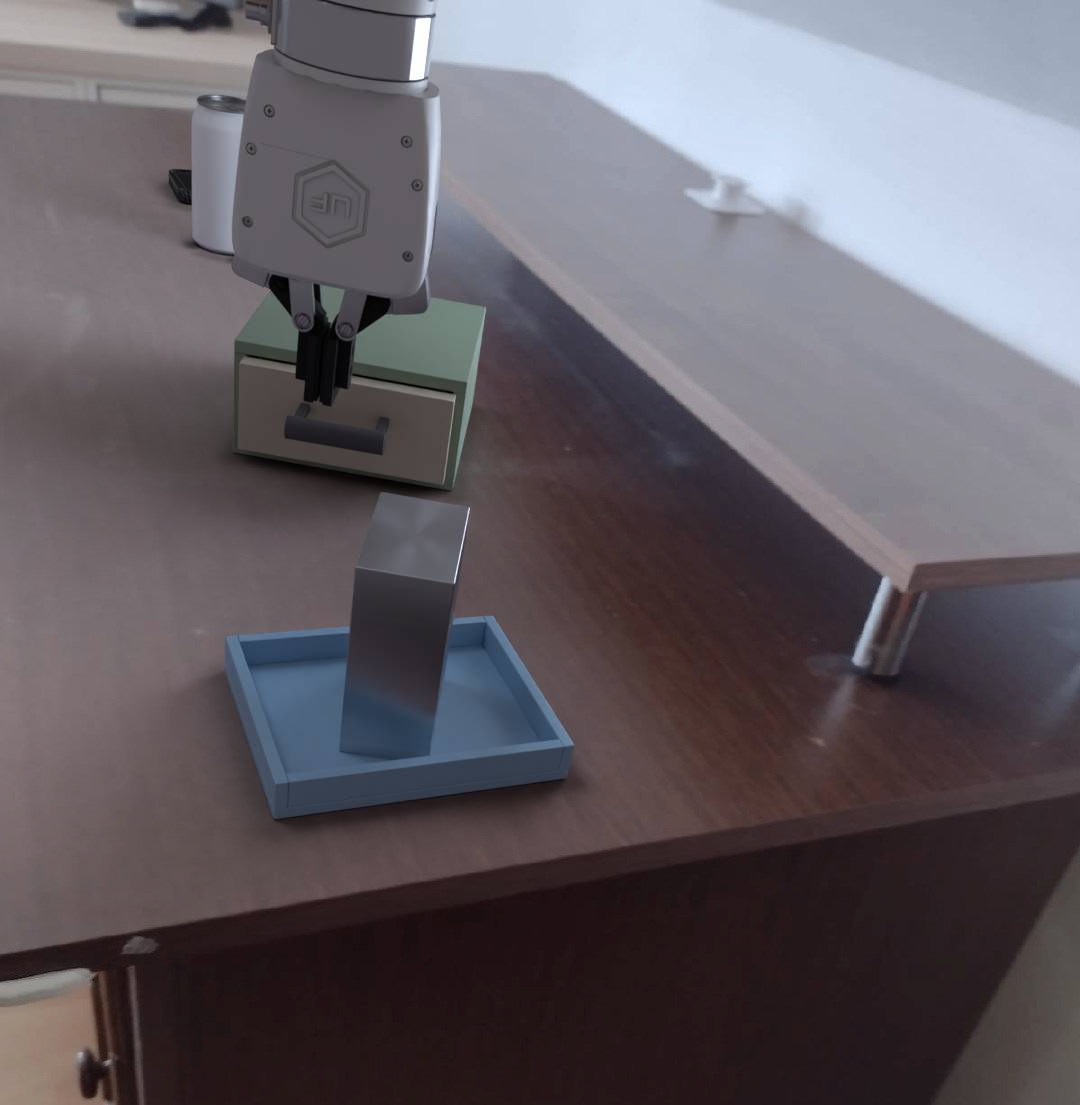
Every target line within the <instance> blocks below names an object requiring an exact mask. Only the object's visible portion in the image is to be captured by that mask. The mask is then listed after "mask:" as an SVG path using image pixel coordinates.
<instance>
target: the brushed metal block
mask: <svg viewBox="0 0 1080 1105" xmlns="http://www.w3.org/2000/svg"><path fill="white" fill-rule="evenodd" d="M470 512H471V507H469V506H466V505H465V506H464V505H460V504H453V503H447V502H442V501H437V500H430V499H425V498H420V497H413V496H407V495H403V494H402V495H401V494H396V493H390V492H384V491H380V492H379V494H378V497H377V501H376V504H375V507H374V509H373V513H372V515H371V519H370V521H369V524H368V527H367V530H366V533H365V536H364V539H363V542H362V545H361V548H360V551H359V553H358V556H357V560H356V562H355V566H354V574H353V585H352V595H351V596H352V597H351V606H350V618H349V626H350V629H349V640H348V652H347V663H346V674H345V686H344V697H343V708H342V720H341V731H340V742H339V751H342V752H348V753H354V754H360V755H367V756H373V757H379V758H385V759H392V760H399V759H407V758H415V757H423V756H430V753H431V747H432V742H433V737H434V731H435V726H436V721H437V716H438V710H439V705H440V700H441V695H442V689H443V684H444V678H445V672H446V665H447V658H448V652H449V645H450V638H451V632H452V625H453V619H454V618H455V611H456V605H457V600H458V592H459V585H460V584H459V583H460V577H461V571H462V565H463V558H464V551H465V544H466V538H467V532H468V525H469V518H470Z"/></svg>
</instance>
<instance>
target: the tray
mask: <svg viewBox="0 0 1080 1105" xmlns="http://www.w3.org/2000/svg"><path fill="white" fill-rule="evenodd" d="M349 629H350V625H349V626H338V627H325V628H312V629H301V630H300V629H299V630H287V631H275V632H273V631H272V632H260V633H250V634H249V633H247V634H238V635H226V636H225V637H224V673H225V675H226V678H227V681H228V684H229V688H230V690H231V691H230V692H231V694H232V697H233V700H234V703H235V706H236V709H237V712H238V715H239V718H240V721H241V724H242V727H243V730H244V733H245V736H246V739H247V743H248V746H249V749H250V752H251V755H252V757H253V761H254V764H255V766H256V770H257V774H258V776H259V779H260V782H261V785H262V788H263V791H264V794H265V797H266V801H267V803H268V806H269V810H270V813H271V815H272V818H273V820H279V819H286V818H293V817H294V818H295V817H300V816H301V817H302V816H308V815H315V814H323V813H331V812H337V811H344V810H351V809H358V808H364V807H365V808H367V807H371V806H380V805H386V804H393V803H401V802H408V801H415V800H422V799H429V798H437V797H442V796H450V795H456V794H464V793H471V792H472V793H473V792H479V791H484V790H485V791H486V790H487V791H488V790H493V789H500V788H508V787H515V786H522V785H528V784H534V783H542V782H549V781H555V780H556V781H557V780H565V779H568V776H569V775H568V774H569V772H570V771H569V770H570V767H571V763H572V758H573V754H574V749H575V743H574V742H573V740H572V738H571V737H570V735H569V734H568V732H567V731H566V729H565V728H564V726H563V724H562V723H561V721H560V720H559V718H558V717H557V715H556V714H555V712H554V711H553V709H552V707H551V705H550V704H549V702H548V701H547V699H546V698H545V696H544V694H543V693H542V691H541V689H540V688H539V686H538V685H537V683H536V682H535V680H534V678H533V677H532V675H531V674H530V672H529V671H528V669H527V667H526V666H525V664H524V662H523V661H522V660H521V658H520V657H519V655H518V653H517V652H516V650H515V648H514V647H513V645H512V643H511V642H510V641H509V639H508V637H507V636H506V634H505V632H504V631H503V630H502V627H501V626H500V625H499V623H498V622H497V620H496V618H495V617H494V616H493V615H478V616H477V615H476V616H466V617H464V616H463V617H454V619H453V625H452V632H451V638H450V645H449V652H448V658H447V665H446V672H445V678H444V684H443V689H442V695H441V700H440V705H439V710H438V716H437V721H436V726H435V731H434V737H433V742H432V747H431V753H430V756H423V757H415V758H407V759H399V760H392V759H385V758H379V757H373V756H367V755H360V754H354V753H348V752H342V751H339V742H340V731H341V720H342V708H343V697H344V686H345V674H346V663H347V652H348V640H349Z"/></svg>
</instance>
